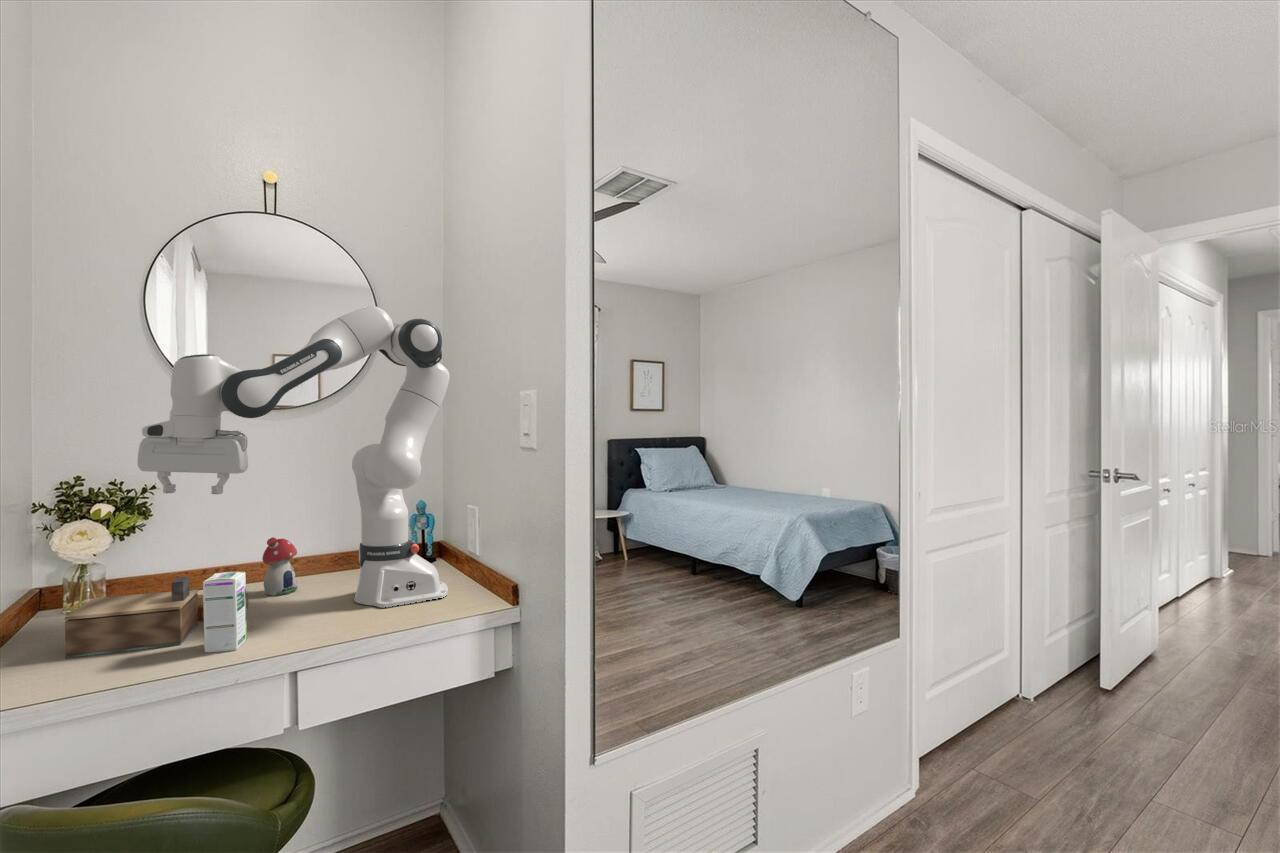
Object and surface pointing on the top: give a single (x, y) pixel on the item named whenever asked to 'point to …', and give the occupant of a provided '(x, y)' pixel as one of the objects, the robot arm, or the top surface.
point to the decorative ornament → (279, 567)
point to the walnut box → (130, 631)
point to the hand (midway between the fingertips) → (193, 493)
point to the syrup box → (224, 611)
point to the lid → (137, 602)
